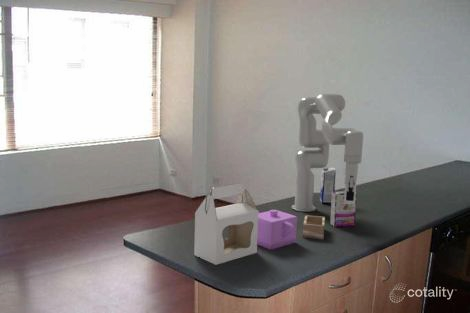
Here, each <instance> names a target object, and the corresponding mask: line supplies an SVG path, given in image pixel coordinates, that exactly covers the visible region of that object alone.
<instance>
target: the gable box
mask: <svg viewBox="0 0 470 313" xmlns="http://www.w3.org/2000/svg"><path fill="white" fill-rule="evenodd" d="M244 185H245V184H244V183H243V182H239V183H238V182H237V183H232V184H226V185H220V186H214V187H212V188H211V189H209V190H208V191H209V194H208V195H206V196H205V198H204V199H203V201H202V202H201V203H200V205H199V206H198V208H197V209H196V211H195V212H194V244H193V245H194V250H193V251H194V253H193V254H194V256H195V257H197V258H199V257H200V259H201V260H205V261H206V262H208V263H211V264H213V265H215V266H218V265H220V264H224V263H227V262H230V261H234V260H236V259H240V258H244V257H246V256H251V255H255V254H257V253H258V251H257V250H258V245H257V234H258V211H259V210H258V208H257V206H256V203H255V202H254V200H253V198H252V196H251V195H250V193H249V189H245V186H244ZM237 195H238V198H237V201H236V203H233V204H228V205H225V206H224V205H223V206H220V207H216V205H215V204H216V203H215V200H216V199H222V198H226V197H232V196H237ZM226 227H228V231H227V232H228V236H227V238H225V239H224V238H223V231H224V229H225V228H226Z"/></svg>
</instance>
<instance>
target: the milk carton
mask: <svg viewBox="0 0 470 313" xmlns="http://www.w3.org/2000/svg"><path fill="white" fill-rule="evenodd" d="M336 173H337V169H336V168H335V167H332V166H331V167H324V168H323V169H321V177H320V178H321V180H320V195H319V202H320V201H321V202H320V204H321V203H329V204H328V205H331V200H332V192H336V191H335V188H336V177H337V176H336V175H337V174H336Z"/></svg>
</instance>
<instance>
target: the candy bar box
mask: <svg viewBox="0 0 470 313" xmlns="http://www.w3.org/2000/svg"><path fill="white" fill-rule="evenodd" d="M344 195H345V190H343V191H342V190H341V191H339V190H338V191H335V192H332V200H331V204H330V205H331V206H330V220H329V221H330V222H329V223H330V226H332V225H333V227H334V228H337V226H338V228H341V227H340V226H343V227H354V226H356V215H357V198H358V193H357V192H356V194H355V205H354V204H344Z"/></svg>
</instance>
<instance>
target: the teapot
mask: <svg viewBox="0 0 470 313" xmlns="http://www.w3.org/2000/svg"><path fill="white" fill-rule="evenodd" d="M297 224H298V216H296V215H293V214H291V213H288V212H285V211H280V210H277V209H270V210H268V211H264V212H260V211H259V210H258V234H257V246H260V247H263V248H264V249H268V250H270V251H271V250H275V249H278V248H281V247H285V245H286V246H289V245H293V244H295V243H297ZM292 243H293V244H292Z"/></svg>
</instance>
